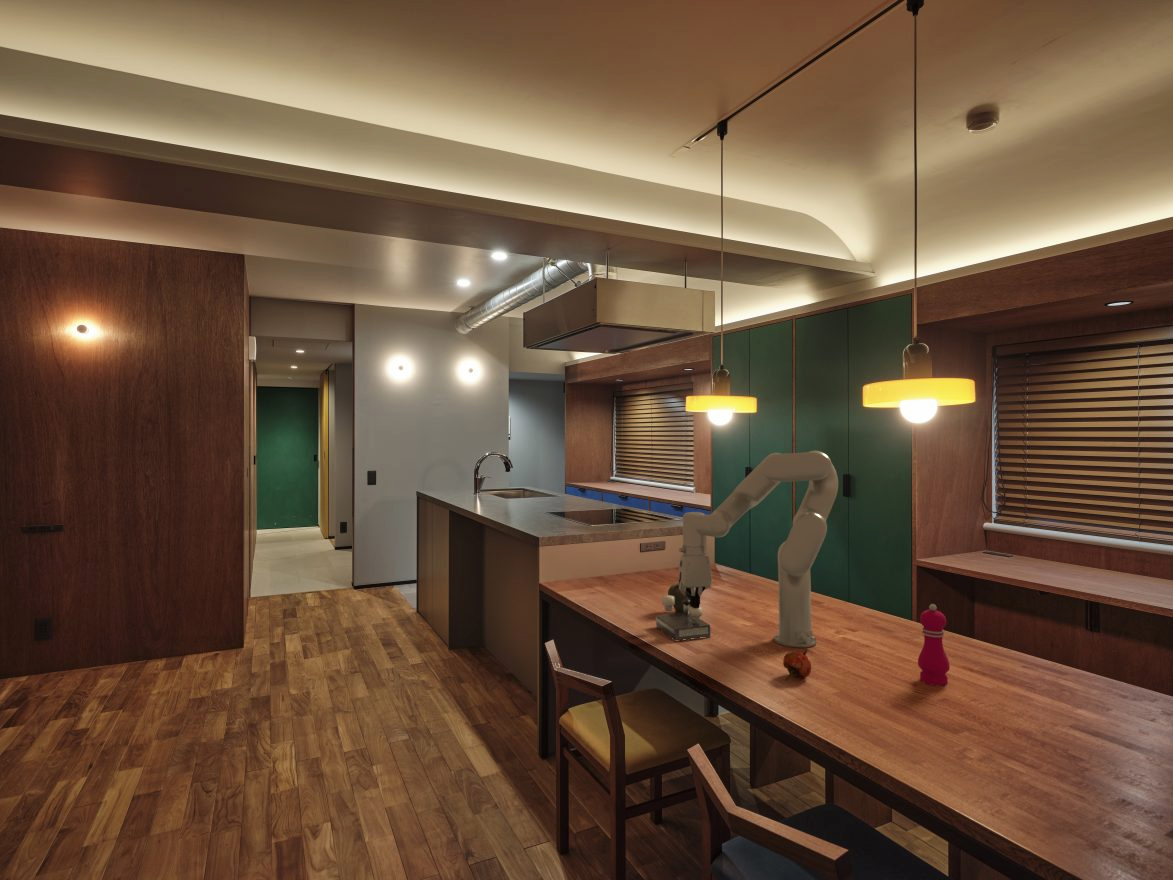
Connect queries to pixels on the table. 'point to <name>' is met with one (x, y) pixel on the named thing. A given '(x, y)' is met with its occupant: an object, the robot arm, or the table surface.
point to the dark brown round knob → (686, 606)
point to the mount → (682, 626)
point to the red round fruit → (797, 664)
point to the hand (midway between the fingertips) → (694, 607)
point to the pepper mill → (933, 648)
